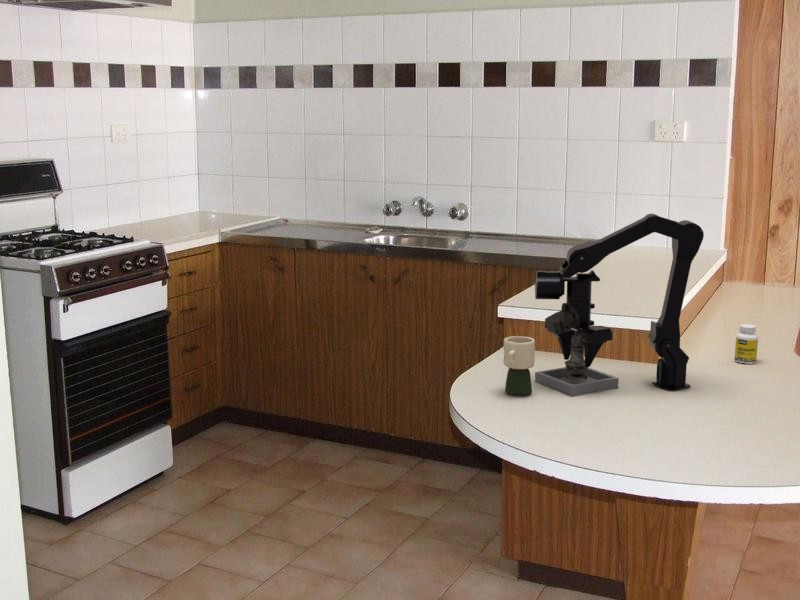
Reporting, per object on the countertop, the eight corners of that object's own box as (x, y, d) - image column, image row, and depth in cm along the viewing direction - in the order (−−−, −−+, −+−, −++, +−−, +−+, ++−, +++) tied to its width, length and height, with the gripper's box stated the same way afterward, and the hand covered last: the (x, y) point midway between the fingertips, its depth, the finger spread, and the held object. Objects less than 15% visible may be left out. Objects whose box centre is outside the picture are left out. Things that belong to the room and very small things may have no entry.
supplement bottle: (733, 363, 242) (736, 326, 241) (734, 358, 247) (737, 322, 245) (756, 365, 240) (758, 328, 239) (756, 360, 245) (759, 324, 243)
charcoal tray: (618, 388, 221) (618, 378, 221) (571, 396, 215) (571, 386, 214) (580, 374, 233) (580, 364, 233) (534, 381, 227) (535, 372, 226)
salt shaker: (591, 380, 221) (592, 331, 219) (566, 381, 221) (568, 331, 219) (585, 373, 227) (587, 325, 224) (561, 374, 227) (563, 326, 224)
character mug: (513, 385, 224) (514, 333, 221) (541, 389, 220) (542, 336, 218) (494, 397, 215) (495, 342, 212) (523, 401, 211) (524, 346, 209)
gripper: (527, 296, 224) (526, 359, 227) (577, 309, 208) (575, 377, 211) (564, 291, 230) (562, 353, 233) (615, 304, 213) (613, 370, 216)
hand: (577, 363), depth 223 cm, fingers closed on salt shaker, 7 cm apart
